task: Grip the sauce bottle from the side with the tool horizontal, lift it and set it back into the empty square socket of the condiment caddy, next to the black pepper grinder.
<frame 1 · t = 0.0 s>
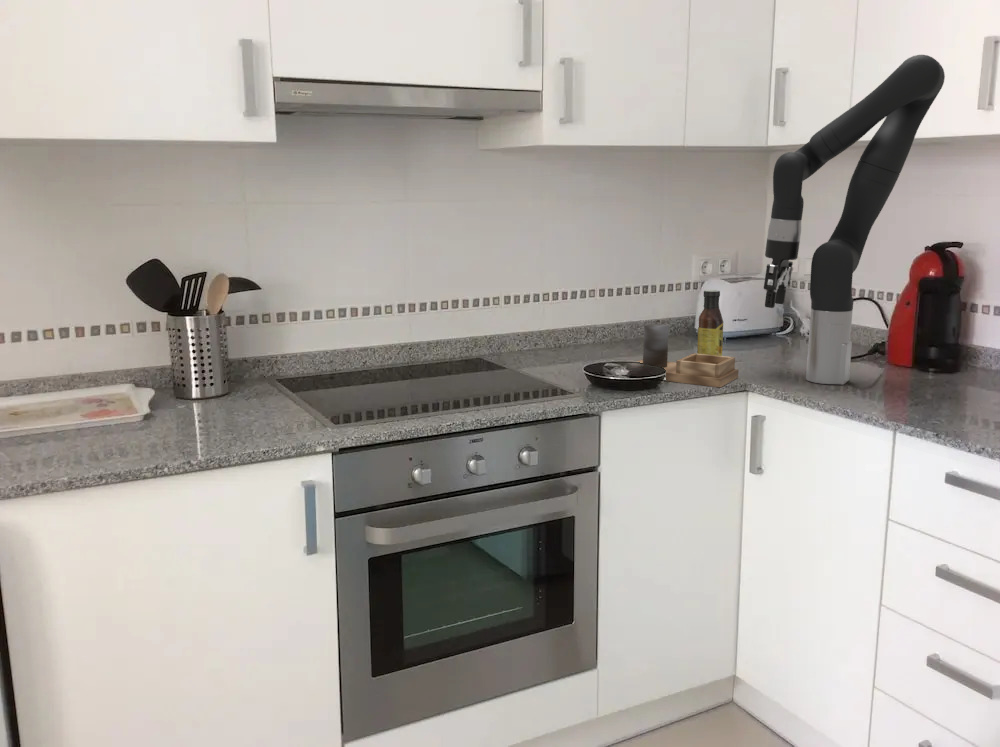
hand: (774, 305, 216), 17 cm above the worktop, tool pointing down, fingers open, 8 cm apart
sauce bottle: (708, 368, 228), on the worktop
condiment caddy: (681, 376, 217), on the worktop
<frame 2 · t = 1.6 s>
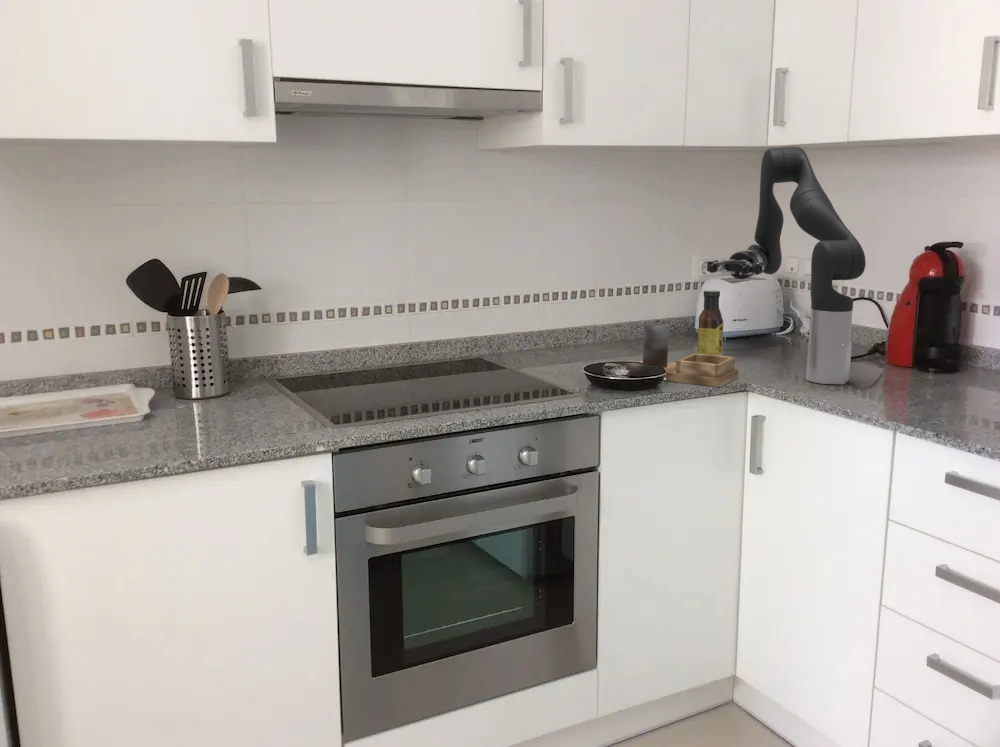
hand: (727, 269, 232), 24 cm above the worktop, tool horizontal, fingers open, 8 cm apart
nothing on the worktop moved.
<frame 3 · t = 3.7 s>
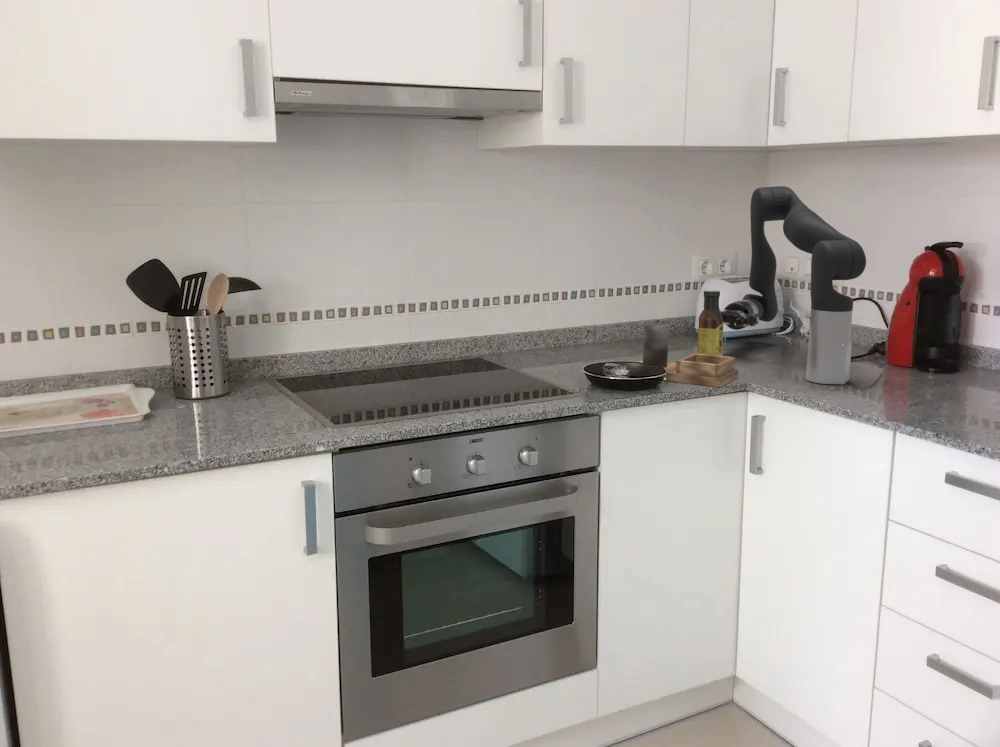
hand: (721, 321, 232), 11 cm above the worktop, tool horizontal, fingers open, 8 cm apart
nothing on the worktop moved.
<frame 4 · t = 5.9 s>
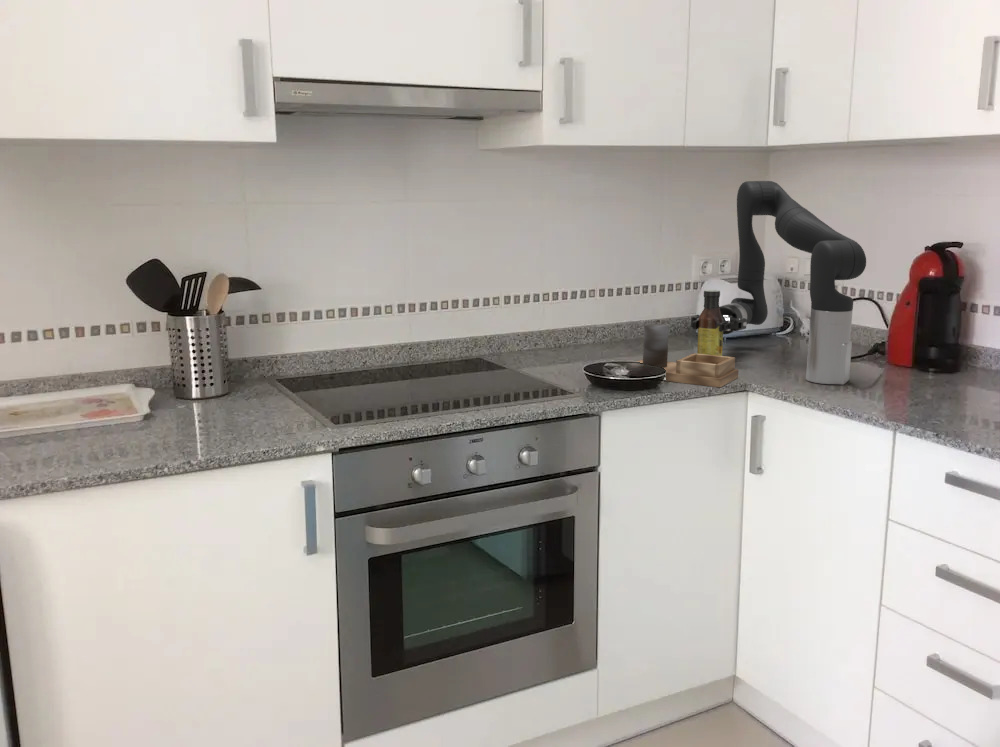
hand: (707, 326, 224), 11 cm above the worktop, tool horizontal, fingers closed on sauce bottle, 6 cm apart
sauce bottle: (708, 368, 228), on the worktop, touching gripper
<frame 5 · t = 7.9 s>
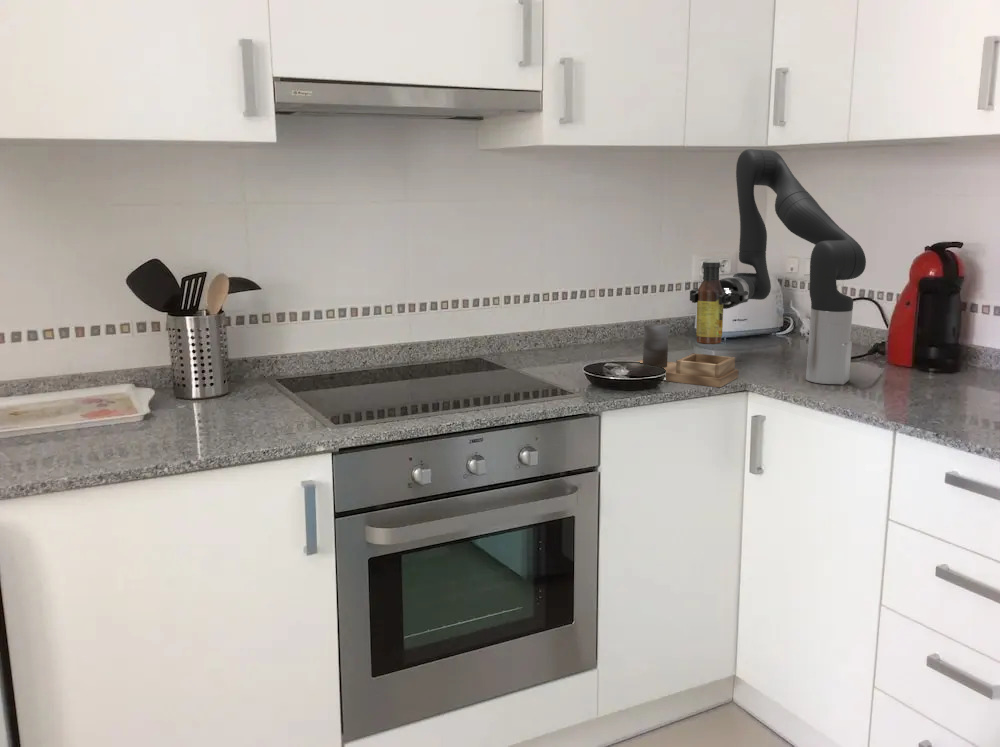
hand: (707, 299, 214), 19 cm above the worktop, tool horizontal, fingers closed on sauce bottle, 6 cm apart
sauce bottle: (708, 343, 218), point 8 cm above the worktop, touching gripper
when the fingers open (14 cm above the worktop, at t = 10.1 s): sauce bottle drops 1 cm, resting on condiment caddy.
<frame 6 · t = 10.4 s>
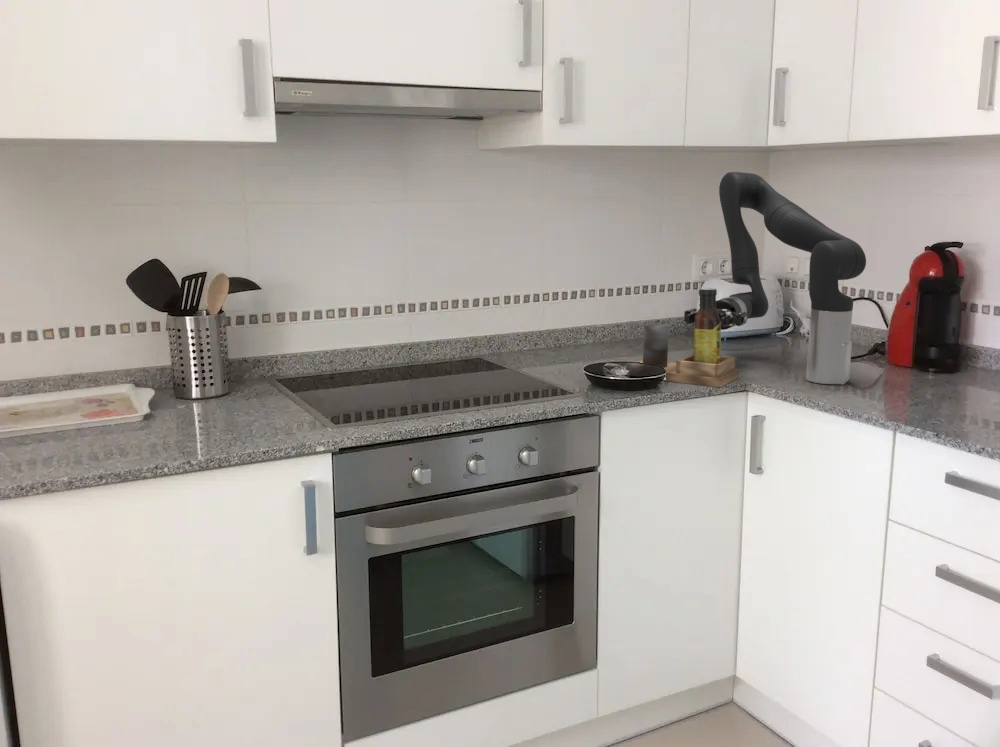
hand: (705, 320, 210), 14 cm above the worktop, tool horizontal, fingers open, 8 cm apart
sauce bottle: (706, 371, 214), point 2 cm above the worktop, touching condiment caddy
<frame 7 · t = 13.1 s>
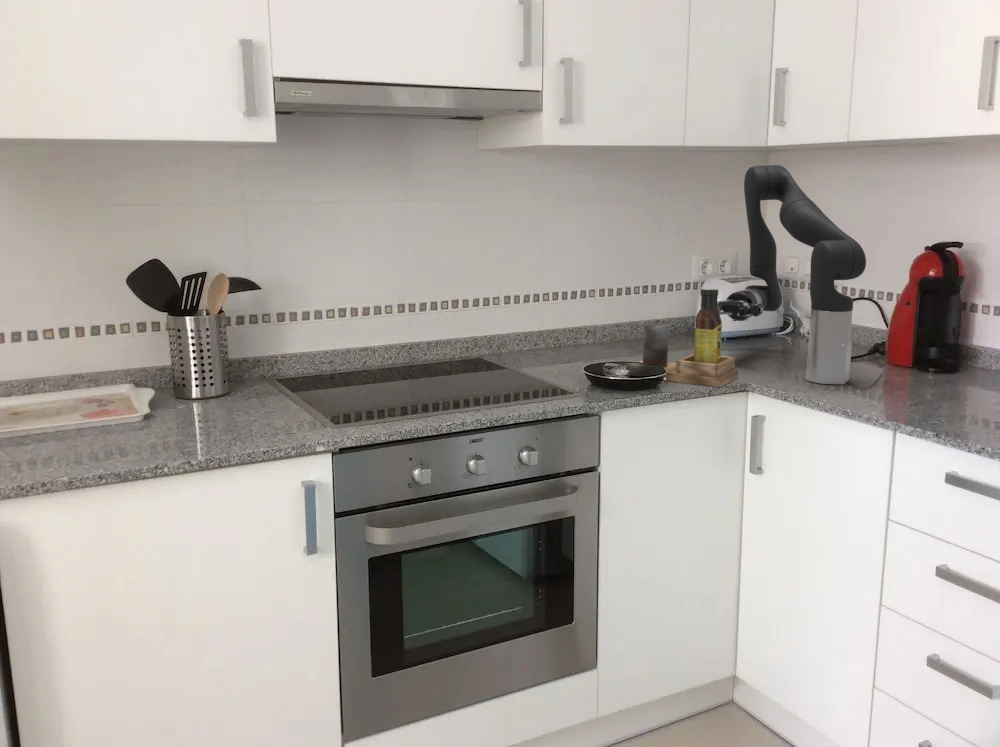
hand: (723, 311, 220), 15 cm above the worktop, tool horizontal, fingers open, 8 cm apart
nothing on the worktop moved.
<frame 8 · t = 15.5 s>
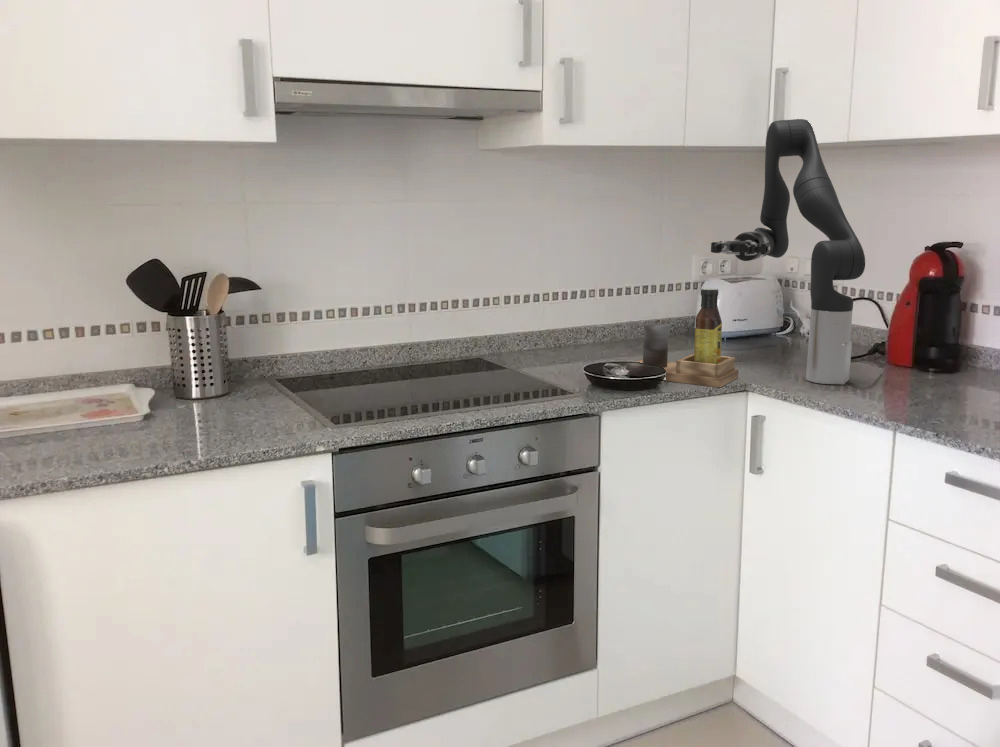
hand: (731, 249, 223), 30 cm above the worktop, tool horizontal, fingers open, 8 cm apart
nothing on the worktop moved.
at the end: sauce bottle 0.3 cm from the target spot on the condiment caddy, point 1.8 cm above the condiment caddy's base; sauce bottle tilted 0°; the gripper is holding nothing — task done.
